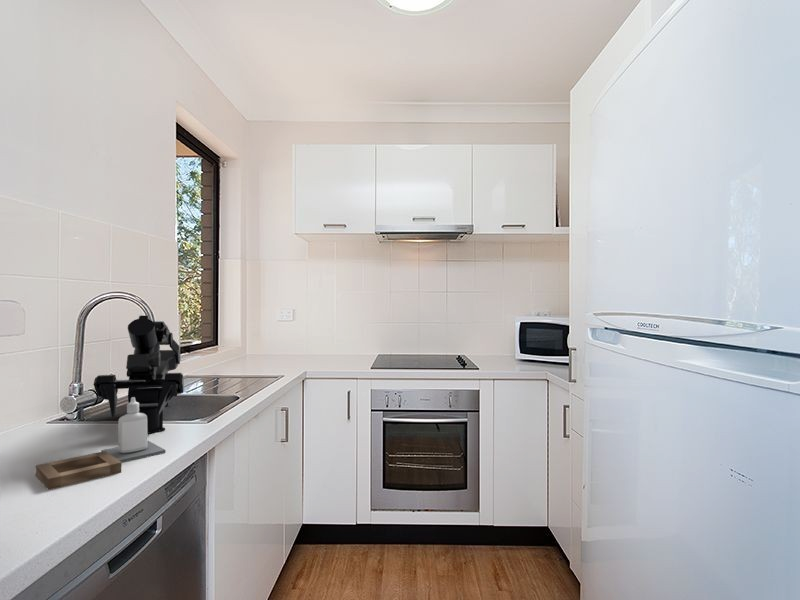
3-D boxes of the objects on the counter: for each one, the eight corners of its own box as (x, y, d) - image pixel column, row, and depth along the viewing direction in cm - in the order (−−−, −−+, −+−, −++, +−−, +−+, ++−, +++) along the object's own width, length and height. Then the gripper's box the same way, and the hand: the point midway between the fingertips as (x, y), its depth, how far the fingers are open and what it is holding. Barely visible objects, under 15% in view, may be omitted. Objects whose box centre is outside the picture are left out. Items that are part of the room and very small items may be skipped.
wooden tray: (105, 460, 99) (105, 451, 99) (121, 472, 92) (121, 462, 92) (35, 475, 90) (35, 465, 90) (48, 489, 83) (48, 478, 83)
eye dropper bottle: (144, 451, 102) (143, 398, 103) (116, 454, 101) (115, 399, 101) (149, 446, 106) (149, 395, 107) (122, 449, 105) (122, 396, 105)
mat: (148, 443, 111) (148, 440, 111) (165, 452, 105) (165, 449, 105) (101, 452, 104) (101, 450, 104) (116, 463, 97) (116, 460, 97)
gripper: (96, 341, 107) (81, 398, 97) (183, 340, 114) (177, 393, 103) (104, 369, 115) (91, 425, 104) (186, 367, 121) (180, 419, 111)
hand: (135, 415), depth 106 cm, fingers open, 9 cm apart
